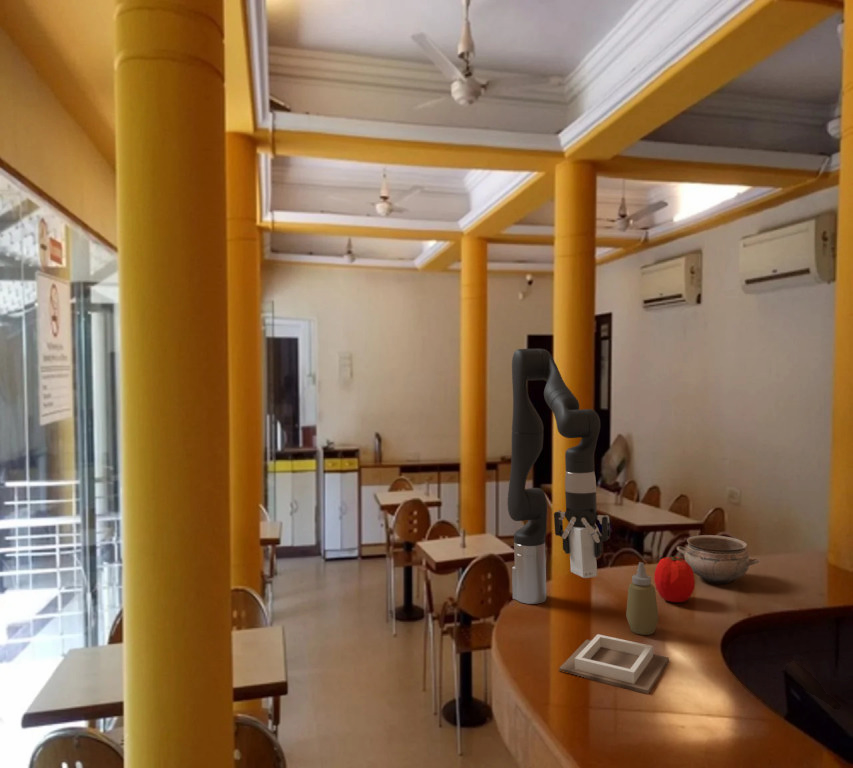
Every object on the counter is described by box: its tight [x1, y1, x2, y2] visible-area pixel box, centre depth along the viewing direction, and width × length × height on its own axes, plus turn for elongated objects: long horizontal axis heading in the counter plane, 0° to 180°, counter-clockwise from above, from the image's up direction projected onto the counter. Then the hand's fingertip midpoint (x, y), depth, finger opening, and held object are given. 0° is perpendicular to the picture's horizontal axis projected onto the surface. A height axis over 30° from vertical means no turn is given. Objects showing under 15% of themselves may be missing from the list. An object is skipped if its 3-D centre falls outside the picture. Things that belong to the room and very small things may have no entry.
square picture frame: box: [575, 633, 654, 684], centre depth 150 cm, size 13×15×2 cm
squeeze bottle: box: [625, 561, 660, 636], centre depth 169 cm, size 8×8×18 cm
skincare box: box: [568, 527, 598, 579], centre depth 162 cm, size 6×4×12 cm
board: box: [558, 639, 670, 695], centre depth 150 cm, size 20×18×1 cm
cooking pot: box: [676, 534, 760, 585], centre depth 207 cm, size 25×19×12 cm
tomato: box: [653, 555, 696, 603], centre depth 190 cm, size 12×12×13 cm
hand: (582, 554), depth 162 cm, fingers closed on skincare box, 7 cm apart
